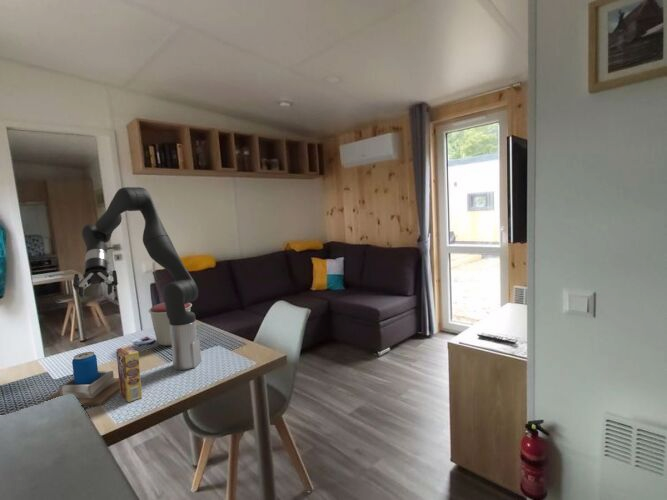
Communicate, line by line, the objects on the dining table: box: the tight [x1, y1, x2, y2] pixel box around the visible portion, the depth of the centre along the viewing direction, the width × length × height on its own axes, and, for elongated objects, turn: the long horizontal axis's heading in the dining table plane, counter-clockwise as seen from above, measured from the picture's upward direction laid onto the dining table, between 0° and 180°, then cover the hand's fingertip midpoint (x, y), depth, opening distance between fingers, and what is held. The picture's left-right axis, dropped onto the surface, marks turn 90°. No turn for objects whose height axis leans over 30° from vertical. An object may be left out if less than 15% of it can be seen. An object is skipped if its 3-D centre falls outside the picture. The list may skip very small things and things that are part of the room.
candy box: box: [116, 345, 143, 403], centre depth 109 cm, size 9×4×15 cm, turn 47°
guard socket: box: [39, 370, 120, 407], centre depth 112 cm, size 20×16×5 cm
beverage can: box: [71, 351, 99, 385], centre depth 112 cm, size 6×6×12 cm
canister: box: [148, 301, 193, 347], centre depth 157 cm, size 18×18×21 cm
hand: (95, 295), depth 130 cm, fingers open, 8 cm apart
